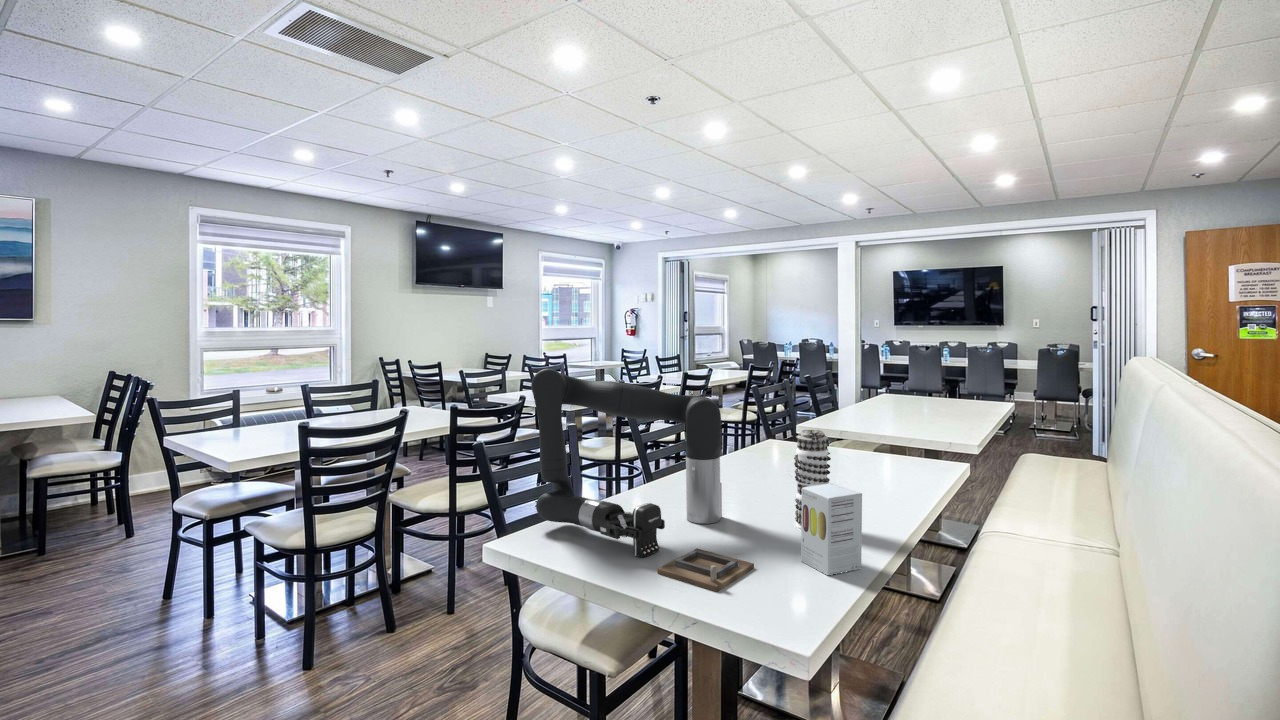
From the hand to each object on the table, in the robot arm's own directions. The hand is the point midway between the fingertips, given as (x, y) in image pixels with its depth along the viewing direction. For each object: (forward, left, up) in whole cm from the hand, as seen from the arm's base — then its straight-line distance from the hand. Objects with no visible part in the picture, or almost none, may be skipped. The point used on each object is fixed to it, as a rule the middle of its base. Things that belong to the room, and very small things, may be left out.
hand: (652, 529), depth 141 cm
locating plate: (0, +15, -6) cm, 16 cm away
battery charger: (0, -1, -6) cm, 6 cm away
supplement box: (-19, +35, -6) cm, 40 cm away
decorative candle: (-41, +21, -6) cm, 46 cm away
